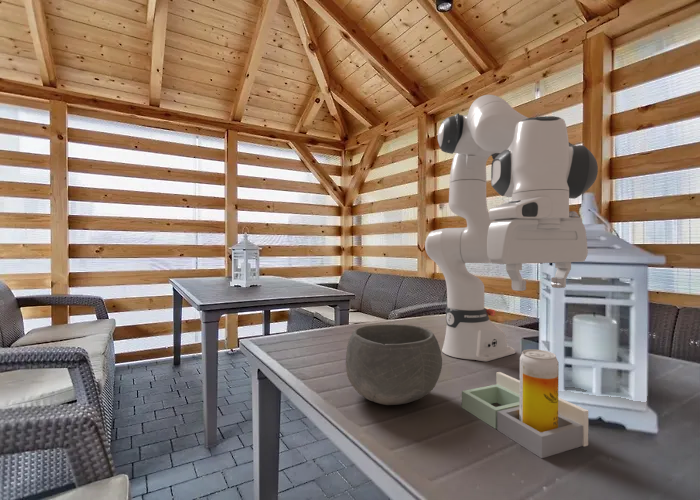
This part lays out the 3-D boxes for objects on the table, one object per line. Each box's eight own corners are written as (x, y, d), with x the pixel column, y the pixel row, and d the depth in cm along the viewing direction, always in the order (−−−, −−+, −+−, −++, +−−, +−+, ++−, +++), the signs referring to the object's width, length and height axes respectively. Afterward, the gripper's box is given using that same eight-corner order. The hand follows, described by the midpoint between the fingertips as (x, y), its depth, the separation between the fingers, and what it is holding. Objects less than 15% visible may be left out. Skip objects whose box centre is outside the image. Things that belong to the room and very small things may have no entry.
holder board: (499, 398, 81) (499, 371, 81) (588, 445, 62) (588, 410, 62) (461, 407, 77) (461, 378, 77) (542, 459, 58) (543, 422, 58)
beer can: (563, 449, 61) (564, 360, 61) (524, 445, 63) (524, 358, 62) (551, 430, 67) (551, 349, 67) (515, 427, 68) (516, 347, 68)
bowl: (441, 384, 89) (441, 323, 89) (443, 427, 69) (443, 348, 68) (356, 378, 94) (356, 319, 93) (334, 416, 73) (334, 341, 73)
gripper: (565, 212, 71) (564, 284, 71) (481, 209, 63) (480, 289, 63) (598, 210, 65) (597, 288, 65) (509, 206, 57) (509, 294, 58)
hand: (539, 289), depth 64 cm, fingers open, 8 cm apart
